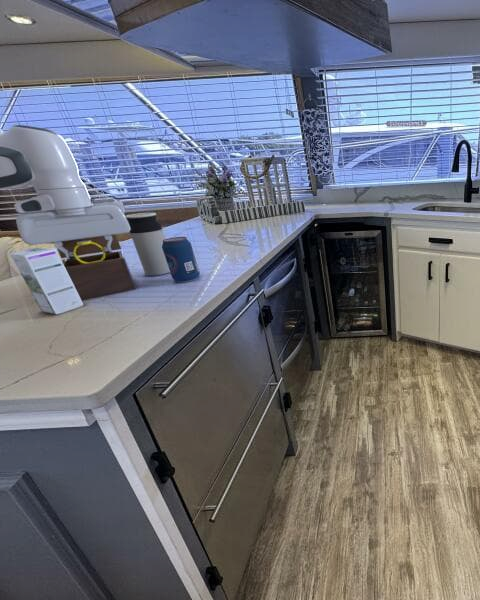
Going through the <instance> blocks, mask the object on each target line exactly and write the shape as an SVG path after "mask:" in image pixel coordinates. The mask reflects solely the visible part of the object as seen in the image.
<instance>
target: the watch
mask: <svg viewBox="0 0 480 600" xmlns="http://www.w3.org/2000/svg"><path fill="white" fill-rule="evenodd" d="M86 244H94V245H97V246H98V247H100V248H101V249H102V251H103V252H102V254H103V257H102V258H101V260H98V261H94V262H100V261H103V260H104V258H105V251H104V249H103V247H102V246H100V245H99V244H97V243H95V242H91V240H85V241H80V242H77V245H76V246H75V248H74V251H73V254H74V256H75V258H76V259H77V260H78V261H79V262H80V263H83V264H87V263H88V262H84V261H82V260H80V259H79V258H78V257H79V256H77V255H76V253H75V252H76V248H78V247H79V246H80V245H86ZM89 263H93V262H89Z"/></svg>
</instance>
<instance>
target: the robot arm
mask: <svg viewBox="0 0 480 600" xmlns="http://www.w3.org/2000/svg"><path fill="white" fill-rule="evenodd" d="M20 189H24V190H35V192H36V196H31V197H28V198H26V199H23V200H20V201H18V202H15V204H14V205H13V206H14V210H15V211H16V213H19V215H17V216H16V219H15V221H16V227H17V230H18V233H19V236H20V238H21V240H22V242H23V243H24V244H26V245H29V246H36V245H44V244H51V243H52V244H53V246H54V248H55V249H56V250H58V249H59V250H60V251H62V252H63V253H65V255H66V259H73V258H75V256H74V254H73V251H68V250H66V249H65V248H64V247H62V246H63V242H62V241H68V240H76V239H84V238H92V237H99V236H104V237H105V239H106V240H108V243H107V246H103V249H104V251H105V253H112V252H113V250H112V249H111V247H110V246H111V243H112V236H111V235H115V234H116V235H122V234H128V233H129V234H130V232H129V231H130V230H131V228H130V225H129V221H128V220H127V218H126V217H125V216H126V215H125V213H126V208H125V205H124V203H123V202H122V201H121V200H120V199H117V198H114V197H105V198H100V197H99V198H91V197H90V194H89V192H88V189H87V187H86V184H85V183H84V182H83V181H82V179H81V177H80V173H79V166H78V164H77V161H76V160H75V157H74V155H73V154H72V151H71V149H70V148H69V146H68V144H67V142H66V140H65V139H64V138H63V136H62V135H60V134H59V133H58V132H56V131H53V130H52V129H47V128H41V127H36V126H32V125H31V126H30V125H23V124H17V125H16V124H15V125H11V126H10V127H9V128H8V129H7V130H6V131H4V130H3V129H2V128H0V190H20Z"/></svg>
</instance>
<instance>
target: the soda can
mask: <svg viewBox="0 0 480 600" xmlns="http://www.w3.org/2000/svg"><path fill="white" fill-rule="evenodd" d="M162 249H163V252H164V255H165V258H166V261H167V264H168V267H169V270H170V273H169V274H170V275H171V278H172V279H173V280H174V281H175V282H176V283H178V284H179V283H189V282H193V281H196V280H198V279H199V278H200V274H201V271H200V269H199V266H198V262H197V259H196V255H195V252H194V250H193V245H192V243H191V242H190V240H189V239H188V238H187V236H174V237H169V238H165V239H164V240H163V244H162Z"/></svg>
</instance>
